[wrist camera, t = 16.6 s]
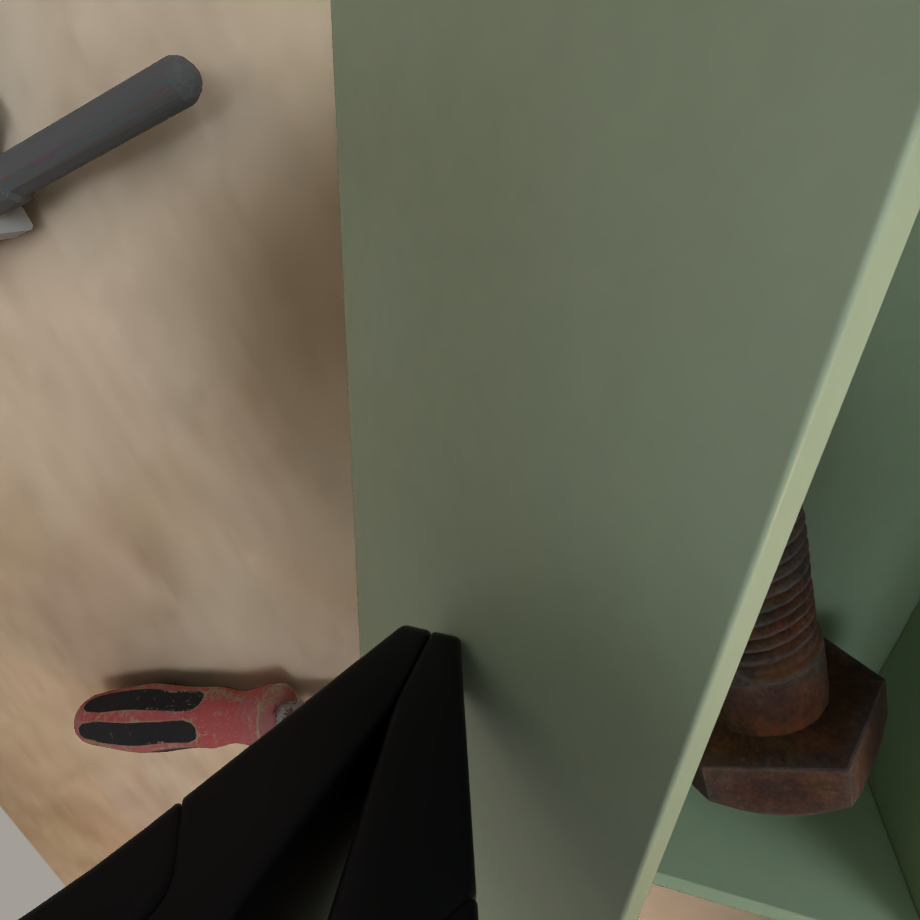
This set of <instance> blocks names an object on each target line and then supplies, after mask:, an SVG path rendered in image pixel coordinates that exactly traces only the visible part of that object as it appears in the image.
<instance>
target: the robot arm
mask: <svg viewBox="0 0 920 920" xmlns="http://www.w3.org/2000/svg"><path fill="white" fill-rule="evenodd" d="M19 920H479V919H478V904H477V902H476V877H475V862H474V846H473V830H472V814H471V799H470V783H469V767H468V751H467V736H466V720H465V704H464V689H463V673H462V657H461V643H460V639H459V638H458V637H456V636H452V635H448V634H443V633H439V632H433V633H432V634H431V632H430V631H428V630H426V629H422V628H418V627H413V626H409V625H404V626H401V627H399V628H398V629H397V630H395V631H394V632H393V633H392V634H390V635H389V636H388V637H387V638H385V639H384V640H383V641H382V642H380V643H379V644H378V645H377V646H375V647H374V648H373V649H371V650H370V651H369V652H368V653H366V654H365V655H364V656H363V657H361V658H360V659H359V660H358V661H356V662H355V663H354V664H353V665H351V666H350V667H349V668H347V669H346V670H345V671H344V672H342V673H341V674H340V675H339V676H337V677H336V678H335V679H334V680H332V681H331V682H330V683H329V684H327V685H326V686H325V687H323V688H322V689H321V690H320V691H318V692H317V693H316V694H315V695H313V696H312V697H311V698H310V699H308V700H307V701H306V702H305V703H303V704H302V705H301V706H299V707H298V708H297V709H296V710H294V711H293V712H292V713H291V714H289V715H288V716H287V717H286V718H284V719H283V720H282V721H281V722H279V723H278V724H277V725H275V726H274V727H273V728H272V729H270V730H269V731H268V732H267V733H265V734H264V735H263V736H262V737H260V738H259V739H258V740H257V741H255V742H254V743H253V744H251V745H250V746H249V747H248V748H246V749H245V750H244V751H243V752H241V753H240V754H239V755H238V756H236V757H235V758H234V759H233V760H231V761H230V762H229V763H227V764H226V765H225V766H224V767H222V768H221V769H220V770H219V771H217V772H216V773H215V774H214V775H212V776H211V777H210V778H209V779H207V780H206V781H205V782H204V783H202V784H201V785H200V786H198V787H197V788H196V789H195V790H193V791H192V792H191V793H190V794H188V795H187V796H186V797H185V798H184V799H183V801H182V805H181V804H179V803H178V804H175V805H174V806H173V807H172V808H170V809H169V810H168V811H166V812H165V813H164V814H163V815H161V816H160V817H159V818H158V819H156V820H155V821H154V822H153V823H151V824H150V825H149V826H147V827H146V828H145V829H144V830H142V831H141V832H140V833H138V834H137V835H136V836H134V837H133V838H132V839H130V840H129V841H128V842H126V843H125V844H124V845H123V846H121V847H120V848H119V849H117V850H116V851H115V852H113V853H112V854H111V855H109V856H108V857H107V858H105V859H104V860H103V861H101V862H100V863H99V864H97V865H96V866H95V867H93V868H92V869H91V870H89V871H88V872H86V873H85V874H83V875H82V876H81V877H79V878H78V879H76V880H75V881H73V882H72V883H71V884H69V885H68V886H66V887H65V888H64V889H62V890H61V891H59V892H58V893H56V894H55V895H53V896H52V897H50V898H49V899H48V900H46V901H45V902H43V903H42V904H40V905H39V906H38V907H36V908H35V909H33V910H32V911H30V912H29V913H27V914H26V915H24V916H23V917H22V918H20V919H19Z"/></svg>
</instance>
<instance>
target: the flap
mask: <svg viewBox="0 0 920 920" xmlns="http://www.w3.org/2000/svg"><path fill="white" fill-rule="evenodd" d="M331 18H332V41H333V63H334V85H335V107H336V129H337V151H338V173H339V196H340V218H341V240H342V262H343V284H344V306H345V329H346V351H347V373H348V395H349V417H350V439H351V461H352V484H353V506H354V528H355V550H356V572H357V594H358V617H359V639H360V658H361V657H363V656H364V655H365V654H366V653H368V652H369V651H370V650H371V649H373V648H374V647H375V646H377V645H378V644H379V643H380V642H382V641H383V640H384V639H385V638H387V637H388V636H389V635H390V634H392V633H393V632H394V631H395V630H397V629H398V628H399V627H401V626H404V625H409V626H413V627H418V628H422V629H426V630H428V631H430V632H431V634H432V633H433V632H439V633H443V634H448V635H452V636H456V637H458V638H459V639H460V643H461V657H462V673H463V689H464V704H465V720H466V736H467V751H468V767H469V783H470V799H471V814H472V830H473V846H474V862H475V877H476V902H477V904H478V919H479V920H638V917H639V915H640V912H641V910H642V907H643V904H644V902H645V899H646V897H647V894H648V892H649V889H650V887H651V884H652V882H653V879H654V877H655V874H656V872H657V869H658V867H659V864H660V862H661V859H662V857H663V854H664V852H665V849H666V846H667V844H668V841H669V839H670V836H671V834H672V831H673V829H674V826H675V824H676V821H677V819H678V816H679V814H680V811H681V809H682V806H683V804H684V801H685V799H686V796H687V794H688V791H689V788H690V786H691V783H692V781H693V778H694V776H695V773H696V771H697V768H698V766H699V763H700V761H701V758H702V756H703V753H704V751H705V748H706V746H707V743H708V741H709V738H710V736H711V733H712V731H713V728H714V725H715V723H716V720H717V718H718V715H719V713H720V710H721V708H722V705H723V703H724V700H725V698H726V695H727V693H728V690H729V688H730V685H731V683H732V680H733V678H734V675H735V673H736V670H737V667H738V665H739V662H740V660H741V657H742V655H743V652H744V650H745V647H746V645H747V642H748V640H749V637H750V635H751V632H752V630H753V627H754V625H755V622H756V620H757V617H758V615H759V612H760V610H761V607H762V604H763V602H764V599H765V597H766V594H767V592H768V589H769V587H770V584H771V582H772V579H773V577H774V574H775V572H776V569H777V567H778V564H779V562H780V559H781V557H782V554H783V552H784V549H785V546H786V544H787V541H788V539H789V536H790V534H791V531H792V529H793V526H794V524H795V521H796V519H797V516H798V514H799V511H800V509H801V506H802V504H803V501H804V499H805V496H806V494H807V491H808V488H809V486H810V483H811V481H812V478H813V476H814V473H815V471H816V468H817V466H818V463H819V461H820V458H821V456H822V453H823V451H824V448H825V446H826V443H827V441H828V438H829V436H830V433H831V431H832V428H833V425H834V423H835V420H836V418H837V415H838V413H839V410H840V408H841V405H842V403H843V400H844V398H845V395H846V393H847V390H848V388H849V385H850V383H851V380H852V378H853V375H854V373H855V370H856V367H857V365H858V362H859V360H860V357H861V355H862V352H863V350H864V347H865V345H866V342H867V340H868V337H869V335H870V332H871V330H872V327H873V325H874V322H875V320H876V317H877V315H878V312H879V310H880V307H881V304H882V302H883V299H884V297H885V294H886V292H887V289H888V287H889V284H890V282H891V279H892V277H893V274H894V272H895V269H896V267H897V264H898V262H899V259H900V257H901V254H902V252H903V249H904V246H905V244H906V241H907V239H908V236H909V234H910V231H911V229H912V226H913V224H914V221H915V219H916V216H917V214H918V211H919V209H920V0H331Z"/></svg>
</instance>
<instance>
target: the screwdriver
mask: <svg viewBox="0 0 920 920" xmlns="http://www.w3.org/2000/svg"><path fill="white" fill-rule="evenodd" d="M303 703H304V702H302V701H298V699H297V696H296V693H295V691H294V690H293V688H292V687H291V686H290V685H288V684H285V683H273V684H268V685H265V686H262V687H259V688H256V689H252V690H246V691H240V690H235V689H232V688H228V687H221V686H217V687H189V686H182V685H172V684H160V683H152V684H144V685H138V686H133V687H128V688H123V689H118V690H113V691H108V692H104V693H101V694H98V695H95V696H93V697H91V698H90V699H88V700H87V701H85V702H84V703H83V704H82V705H81V706H80V708H79V709H78V711H77V713H76V716H75V720H74V729H75V732H76V734H77V736H78V737H79V738H80V739H81V740H83V741H84V742H86V743H89V744H92V745H96V746H102V747H107V748H112V749H117V750H123V751H128V752H138V753H147V752H168V751H175V750H181V749H188V748H217V747H221V746H225V745H228V744H233V743H240V744H246V745H251V744H253V743H254V742H255V741H257V740H258V739H259V738H260V737H262V736H263V735H264V734H265V733H267V732H268V731H269V730H270V729H272V728H273V727H274V726H275V725H277V724H278V723H279V722H281V721H282V720H283V719H284V718H286V717H287V716H288V715H289V714H291V713H292V712H293V711H294V710H296V709H297V708H298V707H299V706H301V705H302V704H303Z"/></svg>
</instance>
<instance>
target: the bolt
mask: <svg viewBox="0 0 920 920" xmlns="http://www.w3.org/2000/svg"><path fill="white" fill-rule="evenodd" d="M805 519H806V517H805V512H804V510H803V504H802V506H801V509H800V511H799V514H798V516H797V519H796V521H795V524H794V526H793V529H792V531H791V534H790V536H789V539H788V541H787V544H786V546H785V549H784V552H783V554H782V557H781V559H780V562H779V564H778V567H777V569H776V572H775V574H774V577H773V579H772V582H771V584H770V587H769V589H768V592H767V594H766V597H765V599H764V602H763V604H762V607H761V610H760V612H759V615H758V617H757V620H756V622H755V625H754V627H753V630H752V632H751V635H750V637H749V640H748V642H747V645H746V647H745V650H744V652H743V655H742V657H741V660H740V662H739V665H738V667H737V670H736V673H735V675H734V678H733V680H732V683H731V685H730V688H729V690H728V693H727V695H726V698H725V700H724V703H723V705H722V708H721V710H720V713H719V715H718V718H717V720H716V723H715V725H714V728H713V731H712V733H711V736H710V738H709V741H708V743H707V746H706V748H705V751H704V753H703V756H702V758H701V761H700V763H699V766H698V768H697V771H696V773H695V776H694V778H693V781H692V783H691V784H692V785H693V786H694V787H695V788H696V789H697V790H698V791H699V792H700V793H701V794H702V795H703V796H704V797H705V798H706V799H708V800H709V801H711V802H714V803H717V804H721V805H724V806H727V807H731V808H734V809H738V810H742V811H748V812H753V813H759V814H768V815H780V816H801V815H811V814H821V813H826V812H831V811H835V810H840V809H845V808H849V807H852V806H853V805H854V803H855V802H856V801H857V799H858V798H859V796H860V795H861V793H862V791H863V789H864V786H865V784H866V782H867V779H868V777H869V775H870V772H871V770H872V767H873V765H874V763H875V760H876V758H877V755H878V751H879V748H880V744H881V741H882V737H883V733H884V729H885V724H886V720H887V715H888V707H887V690H886V680H885V679H884V678H882V677H881V676H879V675H878V674H877V673H875V672H874V671H872V670H871V669H869V668H868V667H866V666H865V665H864V664H862V663H861V662H859V661H858V660H856V659H855V658H853V657H852V656H851V655H849V654H848V653H846V652H845V651H843V650H842V649H840V648H839V647H838V646H836V645H835V644H833V643H832V642H830V641H829V640H828V639H826V638H825V637H823V633H822V629H821V627H820V626H819V624H818V622H817V613H816V607H815V599H814V588H813V582H812V578H811V563H810V552H809V540H808V538H807V526H806V523H805Z"/></svg>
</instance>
